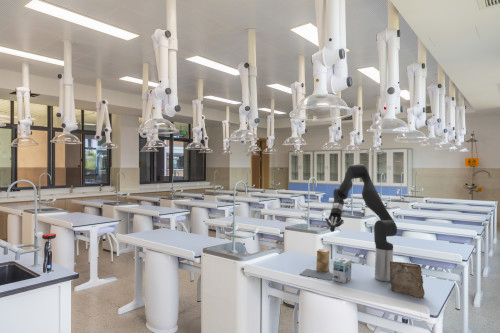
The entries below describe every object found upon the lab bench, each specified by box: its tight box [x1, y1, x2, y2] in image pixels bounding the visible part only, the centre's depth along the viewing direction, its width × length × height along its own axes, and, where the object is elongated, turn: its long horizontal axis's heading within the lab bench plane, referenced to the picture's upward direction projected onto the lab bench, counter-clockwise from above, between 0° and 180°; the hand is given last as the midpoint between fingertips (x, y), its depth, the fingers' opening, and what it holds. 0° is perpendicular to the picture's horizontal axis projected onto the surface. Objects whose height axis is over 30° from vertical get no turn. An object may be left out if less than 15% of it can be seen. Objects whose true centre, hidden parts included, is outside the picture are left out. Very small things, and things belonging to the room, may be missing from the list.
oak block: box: [315, 248, 330, 272], centre depth 198 cm, size 6×6×12 cm
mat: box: [299, 268, 333, 281], centre depth 189 cm, size 18×13×1 cm
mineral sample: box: [389, 261, 426, 299], centre depth 163 cm, size 17×4×15 cm, turn 47°
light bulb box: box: [332, 257, 353, 284], centre depth 182 cm, size 11×7×11 cm, turn 143°
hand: (331, 231), depth 217 cm, fingers closed
